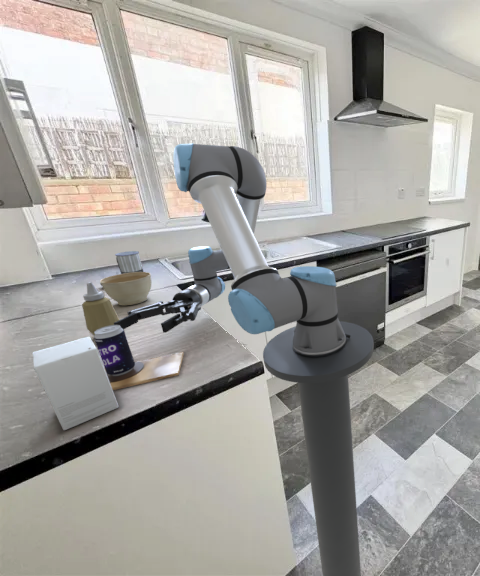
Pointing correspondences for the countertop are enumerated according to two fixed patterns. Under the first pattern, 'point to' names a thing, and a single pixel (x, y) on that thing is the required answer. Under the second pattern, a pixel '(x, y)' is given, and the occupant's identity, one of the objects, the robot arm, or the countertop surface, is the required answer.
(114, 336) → the beverage can
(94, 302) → the squeeze bottle
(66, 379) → the rectangular carton
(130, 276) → the planter bowl
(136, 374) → the board
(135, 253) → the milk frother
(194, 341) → the countertop surface
